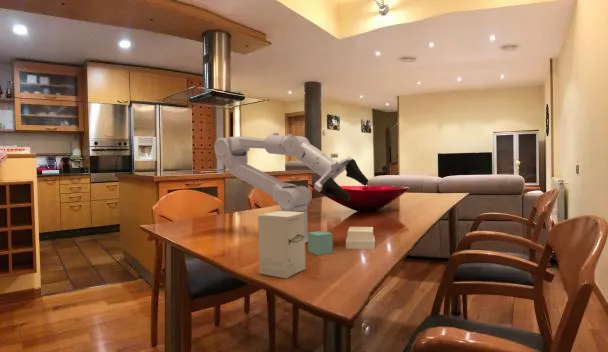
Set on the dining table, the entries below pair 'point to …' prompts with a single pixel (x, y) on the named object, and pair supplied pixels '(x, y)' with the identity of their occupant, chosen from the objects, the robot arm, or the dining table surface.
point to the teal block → (320, 242)
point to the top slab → (360, 234)
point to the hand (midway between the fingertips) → (358, 190)
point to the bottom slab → (360, 244)
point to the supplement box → (281, 243)
